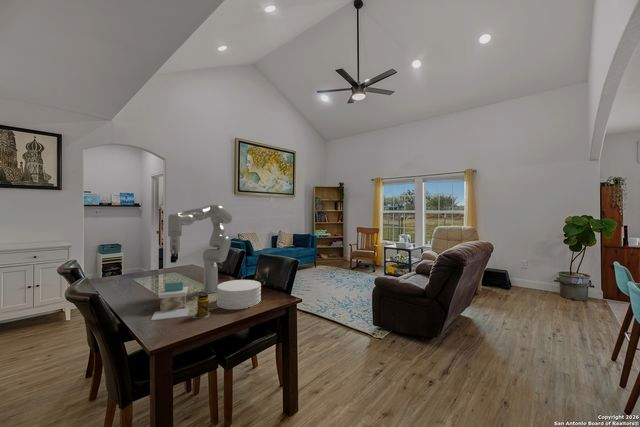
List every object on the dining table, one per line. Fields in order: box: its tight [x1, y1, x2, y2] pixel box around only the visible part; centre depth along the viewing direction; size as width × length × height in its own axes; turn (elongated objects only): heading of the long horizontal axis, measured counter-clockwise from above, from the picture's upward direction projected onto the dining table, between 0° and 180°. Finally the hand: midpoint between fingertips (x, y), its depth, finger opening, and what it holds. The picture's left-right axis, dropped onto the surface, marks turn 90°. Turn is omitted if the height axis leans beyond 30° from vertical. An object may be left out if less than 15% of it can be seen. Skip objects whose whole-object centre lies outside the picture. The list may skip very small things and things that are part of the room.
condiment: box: [191, 293, 211, 319], centre depth 157 cm, size 7×8×12 cm
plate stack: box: [216, 279, 262, 310], centre depth 182 cm, size 28×28×12 cm
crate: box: [159, 296, 187, 311], centre depth 171 cm, size 13×13×9 cm
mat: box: [150, 307, 190, 322], centre depth 157 cm, size 18×13×1 cm
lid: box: [158, 280, 189, 299], centre depth 171 cm, size 15×15×7 cm
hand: (174, 261), depth 171 cm, fingers open, 9 cm apart
